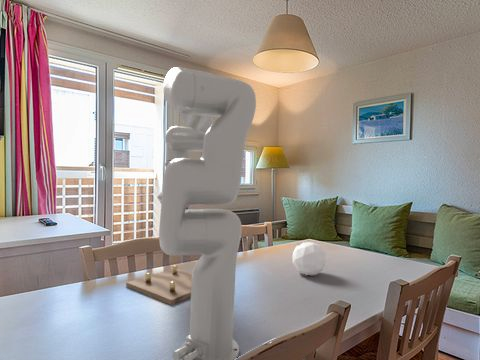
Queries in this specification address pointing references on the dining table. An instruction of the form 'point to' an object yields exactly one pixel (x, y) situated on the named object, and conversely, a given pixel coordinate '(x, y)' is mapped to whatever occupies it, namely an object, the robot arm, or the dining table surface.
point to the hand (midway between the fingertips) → (176, 218)
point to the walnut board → (165, 285)
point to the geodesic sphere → (309, 258)
